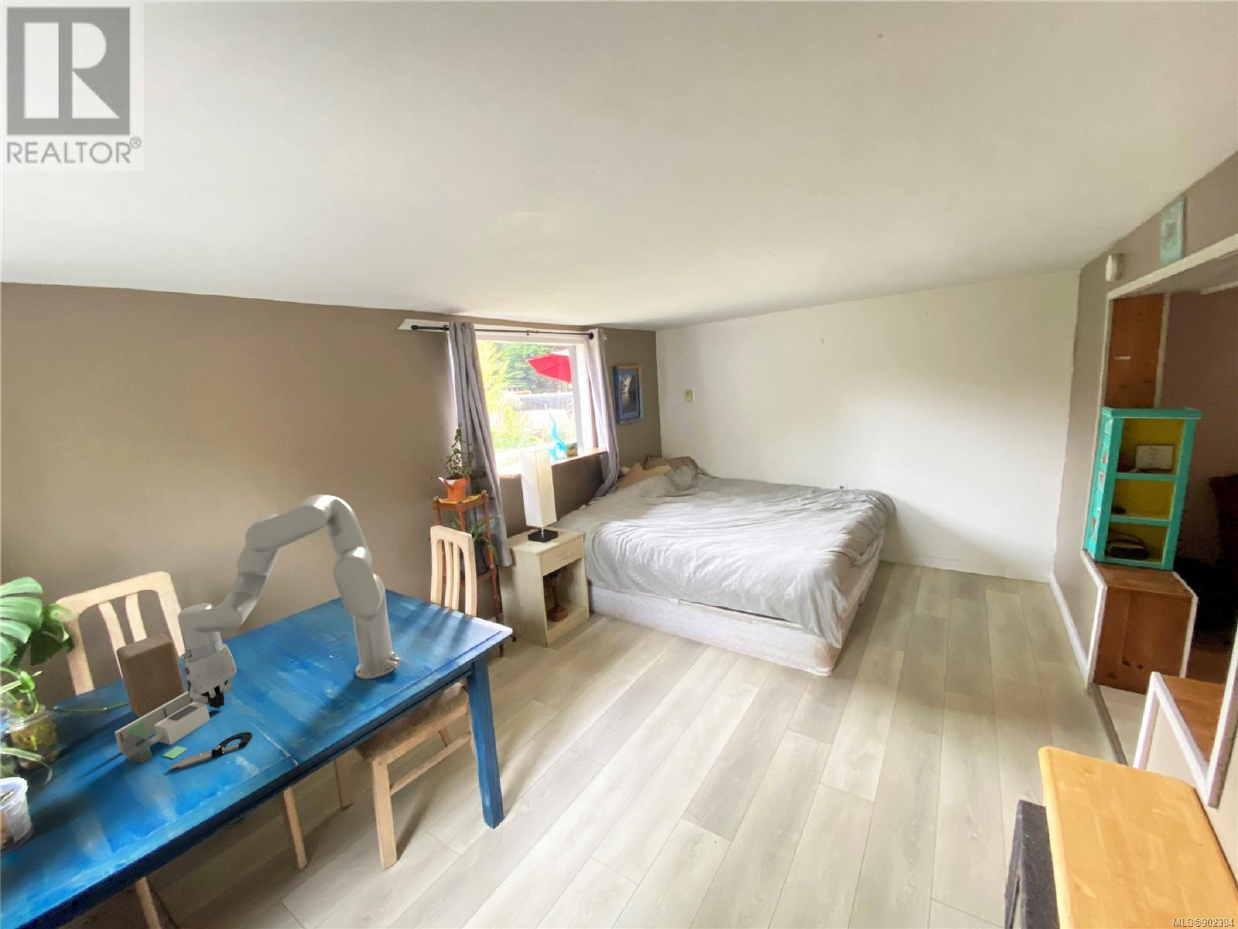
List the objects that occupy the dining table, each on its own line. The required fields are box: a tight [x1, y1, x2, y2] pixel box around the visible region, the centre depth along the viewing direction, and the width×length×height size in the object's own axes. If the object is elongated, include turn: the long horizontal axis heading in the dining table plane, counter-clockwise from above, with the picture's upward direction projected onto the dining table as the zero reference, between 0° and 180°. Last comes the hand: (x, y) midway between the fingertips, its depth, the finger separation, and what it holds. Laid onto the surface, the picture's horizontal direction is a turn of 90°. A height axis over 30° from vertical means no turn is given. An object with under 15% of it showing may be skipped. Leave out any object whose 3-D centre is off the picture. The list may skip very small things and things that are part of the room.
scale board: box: [114, 679, 233, 754], centre depth 126 cm, size 1×26×6 cm, turn 164°
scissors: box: [169, 731, 253, 771], centre depth 115 cm, size 15×7×2 cm, turn 118°
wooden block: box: [115, 632, 186, 719], centre depth 130 cm, size 10×10×20 cm
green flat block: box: [162, 745, 188, 760], centre depth 114 cm, size 4×3×1 cm
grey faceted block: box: [122, 735, 153, 765], centre depth 112 cm, size 6×2×6 cm, turn 74°
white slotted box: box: [147, 702, 211, 747], centre depth 120 cm, size 5×12×5 cm, turn 163°
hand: (217, 706), depth 129 cm, fingers closed
